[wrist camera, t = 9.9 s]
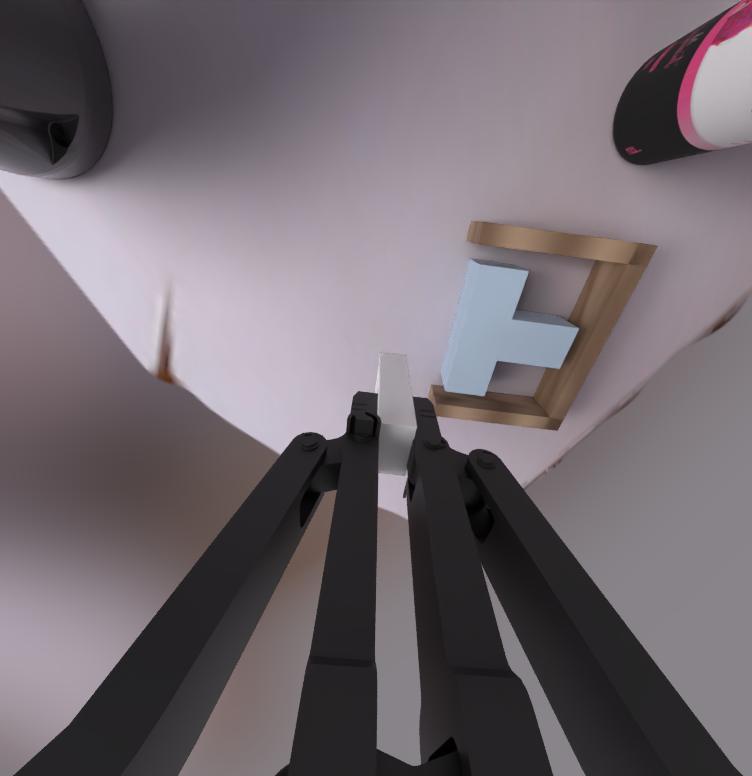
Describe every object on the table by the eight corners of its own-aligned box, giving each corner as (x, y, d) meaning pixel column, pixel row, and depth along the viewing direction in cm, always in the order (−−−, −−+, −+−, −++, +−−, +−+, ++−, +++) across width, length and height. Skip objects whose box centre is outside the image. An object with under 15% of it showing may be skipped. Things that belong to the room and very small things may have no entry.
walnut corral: (428, 395, 35) (432, 415, 31) (471, 221, 26) (483, 222, 22) (540, 409, 35) (557, 430, 31) (622, 242, 26) (657, 245, 22)
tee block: (440, 373, 33) (445, 391, 30) (469, 258, 27) (480, 264, 24) (527, 384, 33) (542, 403, 30) (575, 273, 27) (602, 281, 24)
